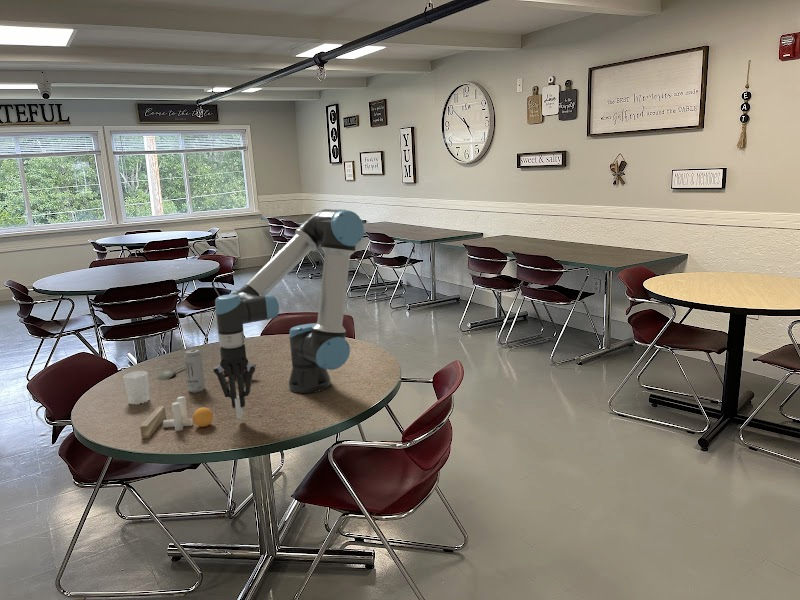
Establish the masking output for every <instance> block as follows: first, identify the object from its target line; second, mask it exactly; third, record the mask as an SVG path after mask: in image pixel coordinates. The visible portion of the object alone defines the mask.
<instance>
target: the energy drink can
mask: <svg viewBox="0 0 800 600" xmlns="http://www.w3.org/2000/svg"><path fill="white" fill-rule="evenodd" d="M183 358H184V359H183V360H184V366H185V367H184V368H185V376H186V384H187V390H189V393H201V392H203V391H204V389H206V384H205V375H204V368H203V367H204V366H203V357H202V353H201V352H200V349H195V348H194V349H193V348H192V349H188V350H185V354H184V355H183Z"/></svg>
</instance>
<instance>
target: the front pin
mask: <svg viewBox="0 0 800 600" xmlns="http://www.w3.org/2000/svg"><path fill="white" fill-rule="evenodd" d="M193 422H194V421H193V417H192V418H191V417H190V418H188V417H187V419H182V423H183V427H192V426H193ZM162 428H163V429H164V428H175V425H174V418H173V419H172V418H170V419H164V420H163V422H162Z"/></svg>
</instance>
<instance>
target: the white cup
mask: <svg viewBox="0 0 800 600" xmlns="http://www.w3.org/2000/svg"><path fill="white" fill-rule="evenodd" d="M123 382H124V386H125V391H126V396H127V398H128V399H127V401H128V403H129V404H130V405H134V404H135V405H140V403H142V404H145V403H147V402H149V401H150V385H149V384H150V383H149V374H148V371H145V370H136V371H130V372H128V373H126V374H124V375H123ZM148 400H149V401H148ZM144 402H145V403H144Z"/></svg>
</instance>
